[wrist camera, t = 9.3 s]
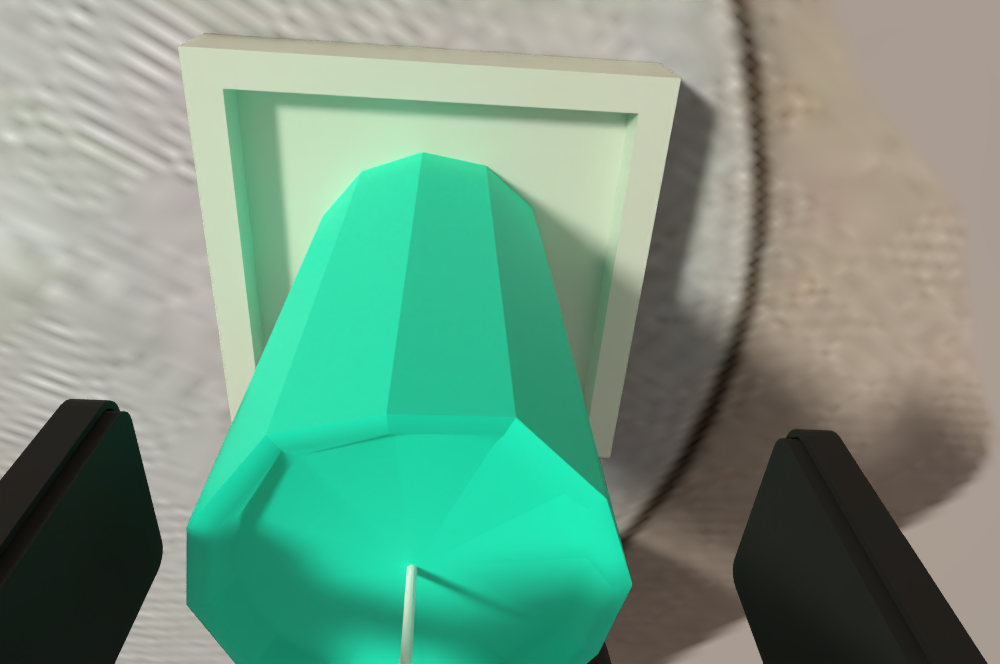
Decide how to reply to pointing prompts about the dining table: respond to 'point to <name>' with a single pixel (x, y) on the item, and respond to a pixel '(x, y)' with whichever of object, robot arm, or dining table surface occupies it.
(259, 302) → the tray
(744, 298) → the dining table surface
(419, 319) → the candle
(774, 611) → the robot arm
